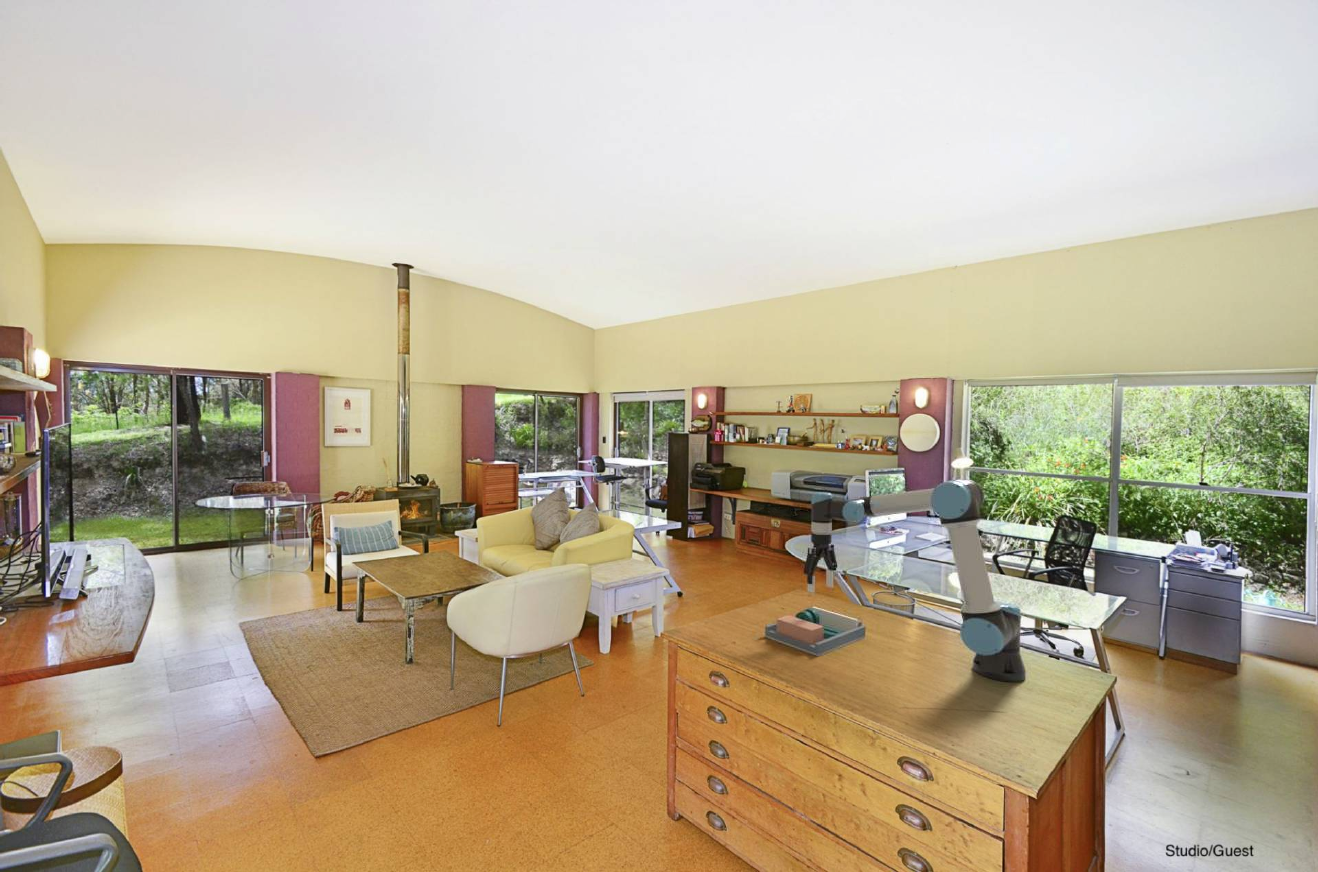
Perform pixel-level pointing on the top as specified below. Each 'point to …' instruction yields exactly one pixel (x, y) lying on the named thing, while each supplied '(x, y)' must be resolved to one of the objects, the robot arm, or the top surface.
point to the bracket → (817, 622)
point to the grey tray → (820, 646)
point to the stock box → (800, 629)
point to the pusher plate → (836, 620)
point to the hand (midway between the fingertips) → (820, 589)
